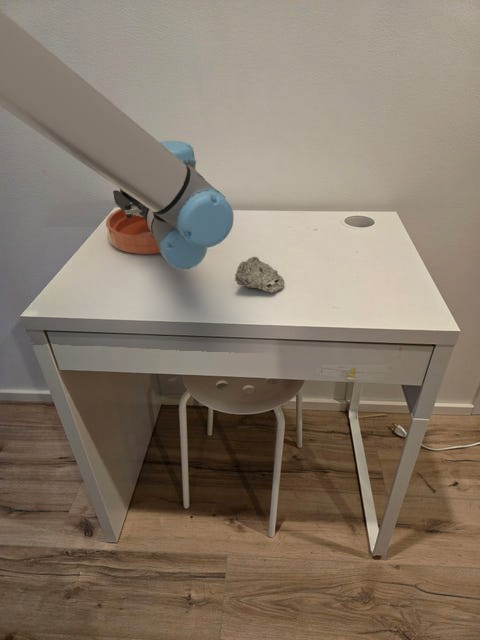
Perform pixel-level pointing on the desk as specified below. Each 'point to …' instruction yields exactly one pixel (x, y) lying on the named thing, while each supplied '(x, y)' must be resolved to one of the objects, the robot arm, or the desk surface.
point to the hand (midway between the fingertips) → (143, 180)
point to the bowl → (130, 234)
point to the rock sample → (258, 276)
